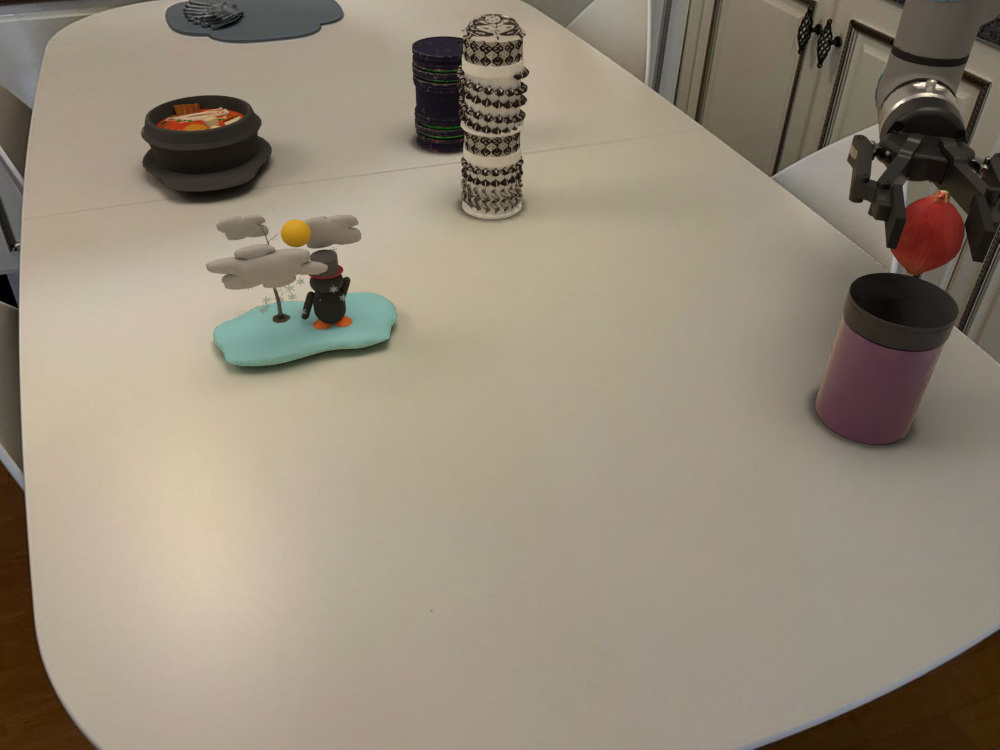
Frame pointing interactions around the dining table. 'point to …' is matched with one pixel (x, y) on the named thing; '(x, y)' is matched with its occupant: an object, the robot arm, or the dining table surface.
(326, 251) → the penguin figurine
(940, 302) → the jar lid
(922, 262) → the red pomegranate
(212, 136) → the casserole
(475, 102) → the decorative candle
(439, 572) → the dining table surface
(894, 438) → the jar
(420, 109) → the storage jar
